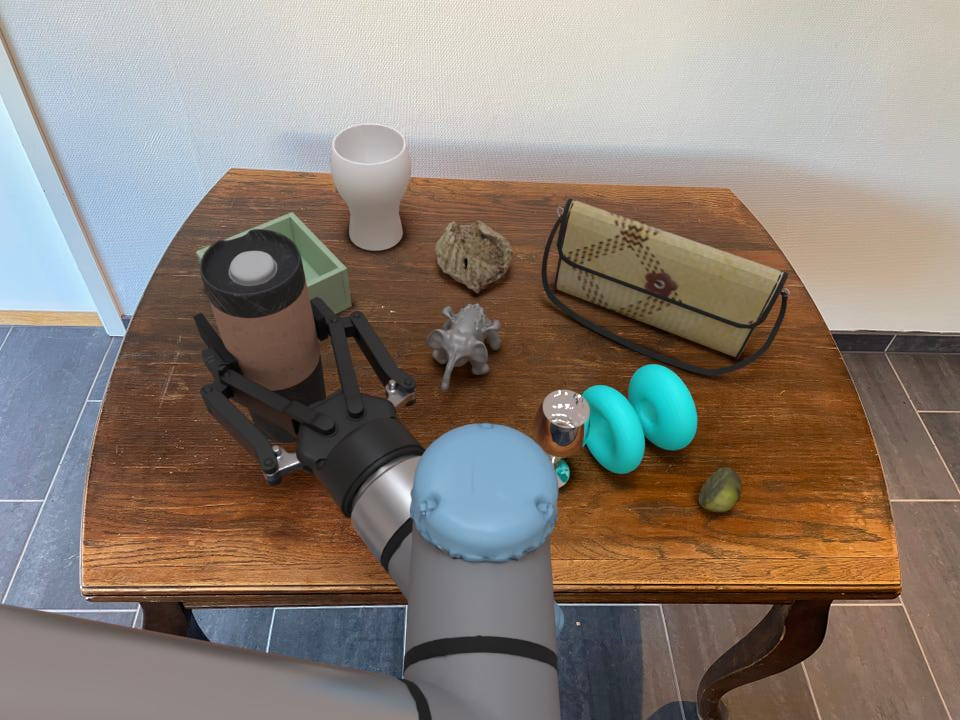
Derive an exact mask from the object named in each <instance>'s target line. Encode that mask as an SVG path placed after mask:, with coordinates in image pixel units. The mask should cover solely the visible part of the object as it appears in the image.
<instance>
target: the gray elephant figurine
mask: <svg viewBox="0 0 960 720" xmlns="http://www.w3.org/2000/svg"><path fill="white" fill-rule="evenodd" d="M441 315H442V316H443V317H446V318H448V319H447V320H446V322H444V323H443V325H442V329H441V328H437V329H434V330H432V331H431V332H430V333H429V334H427V337H426V340H425V344H426V346H427V347H429V348H431V350H434V351H433V352H432V355H431V356H432V358H433V359H434V361H436V362H437V363H439V364H441V365H445V364H446V366H445V371H444V373H443V376H442V379H441V384H440V389H441V391H442V392H444V393H445V392H447V391H448V389H449V387H450V379H451V374H452V371H453V369H454V368H460V367H463V366H464V365H465V364H466V363H468V362H469V363H470V365H471V372H472V373H473V375H477V376H480V375H486V374H488V373H489V371H490V366H489V365H488V364H487V363H488V359H489V353H488V348H487V347H486V345H485V343H484V341H485V340H486V342H487V344H488V346H489V347H490V349H492V350H493V351H497V350H499V349H500V347H501V345H502V339H501V337H500V335H499V333H498V332H499V331H500V330H501V329H502V324H501V322H500V321H499V320H498V319H495V320H494V321H493V322H492V321H491V320H490V319H489V318H488V317H487V315H486V314H485V307H482V306H481V305H480V303H477V302H476V303H475V304H471V303H467V304H466V306H465V307H464V308H463V307H461V308H460V311H459V312H457V313H456V314H455V312H454V311H453V308H452V306H451V305H447V306H445V307H444V308H443V309H442V310H441Z"/></svg>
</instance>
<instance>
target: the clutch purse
mask: <svg viewBox="0 0 960 720" xmlns="http://www.w3.org/2000/svg"><path fill="white" fill-rule="evenodd" d="M559 209H561V211H562V212H561V214H560V212H559ZM556 212H557V215H558V216H559V217H558V218H557V220H556V221H555V223H554V225H553V227H552V228H551V231H550V233H549V236H548V238H547V241H546V244H545V247H544V250H543V251H544V252H543V256H542V261H541V282H542V287H543V289H544V293H545V295H546V296H547V298H548V299H549V300H550V301H551V302H552V304H553V305H555V307H557V308H558V309H560V310H561V311H562V312H563V313H565V314H566V315H568V316H569V317H570V318H572V319H574V320H575V321H576V322H578V323H579V324H581V325H583V326H585V327H586V328H588V329H590V330H591V331H594V332H596V333H598V334H599V335H602V336H604V337H606V338H608V339H610V340H612V341H614V342H616V343H618V344H620V345H622V346H624V347H626V348H629V349H630V350H633V351H634V352H637V353H639V354H641V355H643V356H646V357H649V358H651V359H654V360H657V361H658V362H662V363H665V364H668V365H670V366H674V367H675V368H679V369H682V370H684V371H685V370H686V371H688V372H691V373H696V374H700V375H704V376H710V377H712V376H720V375H721V376H722V375H725V374H729V373H732V372H735V371H736V370H740V369H742V368H744V367H747V366H749V365H750V364H752V363H754V362H755V361H756V360H758V359H759V358H760V357H761V356H763V355H764V354H765V353H766V352H767V351H768V350H769V348H770V347H771V346H772V344H773V342H774V340H775V338H776V336H777V334H778V332H779V330H780V328H781V325H782V323H783V321H784V318H785V315H786V311H787V307H788V299H789V297H790V296H791V292H790V290H789V289H788V288H787V287H784V286H785V284H786V282H787V280H788V277H789V273H788V272H786V271H783V270H780V269H777V268H774V267H771V266H768V265H765V264H762V263H759V262H756V261H754V260H750V259H747V258H745V257H743V256H740V255H736V254H733V253H731V252H728V251H724V250H722V249H718V248H716V247H713V246H709V245H707V244H704V243H701V242H698V241H695V240H692V239H689V238H686V237H684V236H680V235H678V234H675V233H672V232H669V231H666V230H663V229H660V228H658V227H654V226H652V225H648V224H646V223H643V222H640V221H637V220H634V219H631V218H628V217H625V216H622V215H619V214H617V213H614V212H610V211H609V210H606V209H602V208H599V207H597V206H593V205H591V204H588V203H585V202H582V201H580V200H576V199H574V198H571V197H570V198H568V199H567V200H566V203H565V206H564V208H563V207H562V206H559V205H558V206H557V208H556ZM557 231H558V235H557V239H556V240H557V241H556V248H557V253H558V260H557V265H556V270H555V276H554V283H553V289H554V291H560V292H563V293H565V294H568V295H570V296H573V297H575V298H579V299H581V300H584V301H586V302H588V303H592V304H594V305H597V306H600V307H602V308H605V309H607V310H610V311H612V312H614V313H618V314H620V315H623V316H626V317H629V318H630V319H634V320H636V321H639V322H641V323H643V324H647V325H649V326H651V327H653V328H657V329H660V330H663V331H665V332H668V333H670V334H673V335H675V336H678V337H680V338H683V339H686V340H689V341H691V342H694V343H697V344H699V345H702V346H704V347H706V348H709V349H712V350H715V351H717V352H720V353H722V354H724V355H725V354H726V355H728V356H730V357H733V358H734V359H735V360H738V359H739V358H740V356H741V355H742V353H743V352H744V350H745V348H746V346H747V344H748V343H749V341H750V339H751V337H752V335H753V333H754V331H755V330H756V328H757V327H758V326H760V325H762V324H763V323H764V322H765V321H766V319H767V318H768V316H769V315H770V312H771V311H772V310H773V307H774V306H775V303H776V302H777V300H778V298H779V296H780V295H781V304H780V310H779V313H778V315H777V318H776V321H775V323H774V325H773V327H772V328H771V331H770V333H769V335H768V337H767V339H766V341H764V344H763V345H762V346H761V347H760V348H759V349H758V350H757V351H755V352H754V353H753V354H751V355H750V356H748V357H747V358H745V359H743V360H741V361H739V362H737V363H734V364H731V365H728V366H725V367H720V368H712V369H711V368H704V367H701V366H697V365H693V364H690V363H687V362H684V361H681V360H678V359H676V358H672V357H670V356H666V355H663V354H661V353H658V352H655V351H653V350H650V349H648V348H646V347H643V346H641V345H638V344H637V343H634V342H632V341H629V340H628V339H626V338H624V337H622V336H619V334H615V333H614V332H612V331H609V330H608V329H605V328H603V327H602V326H600V325H597V324H596V323H594V322H592V321H590V320H589V319H586V318H585V317H584V316H582V315H580V314H579V313H577V312H576V311H574V310H573V309H571V308H570V307H568V306H567V305H566V304H565V303H564V302H562V301H561V300H559V299H558V297H557V296H556V295H555V294H554V293H553V290H552V289H551V287H550V284H549V280H548V260H549V254H550V250H551V246H552V244H553V240H554V238H555V235H556V233H557ZM786 291H787V292H788V293H787V292H786Z"/></svg>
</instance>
